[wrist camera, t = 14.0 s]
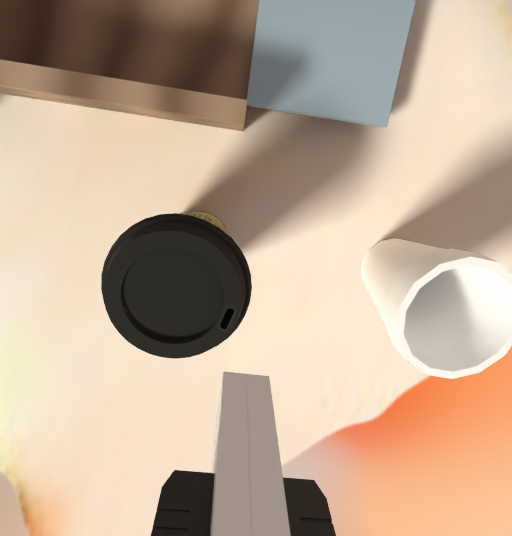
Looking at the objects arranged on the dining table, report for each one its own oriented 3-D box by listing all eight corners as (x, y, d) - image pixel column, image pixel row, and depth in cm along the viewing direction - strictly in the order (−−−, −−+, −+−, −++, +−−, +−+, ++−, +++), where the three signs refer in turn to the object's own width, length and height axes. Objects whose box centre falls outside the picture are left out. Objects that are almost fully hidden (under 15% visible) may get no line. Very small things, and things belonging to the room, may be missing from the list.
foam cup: (327, 275, 39) (368, 332, 27) (388, 204, 38) (462, 230, 25) (392, 325, 41) (459, 399, 29) (453, 259, 40) (552, 309, 27)
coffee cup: (168, 175, 36) (121, 190, 21) (263, 217, 37) (278, 258, 23) (134, 267, 38) (71, 335, 24) (224, 302, 40) (216, 387, 25)
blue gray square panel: (246, 103, 31) (387, 126, 32) (268, -72, 28) (425, -42, 29) (246, 106, 34) (377, 128, 34) (266, -55, 30) (412, -28, 31)
